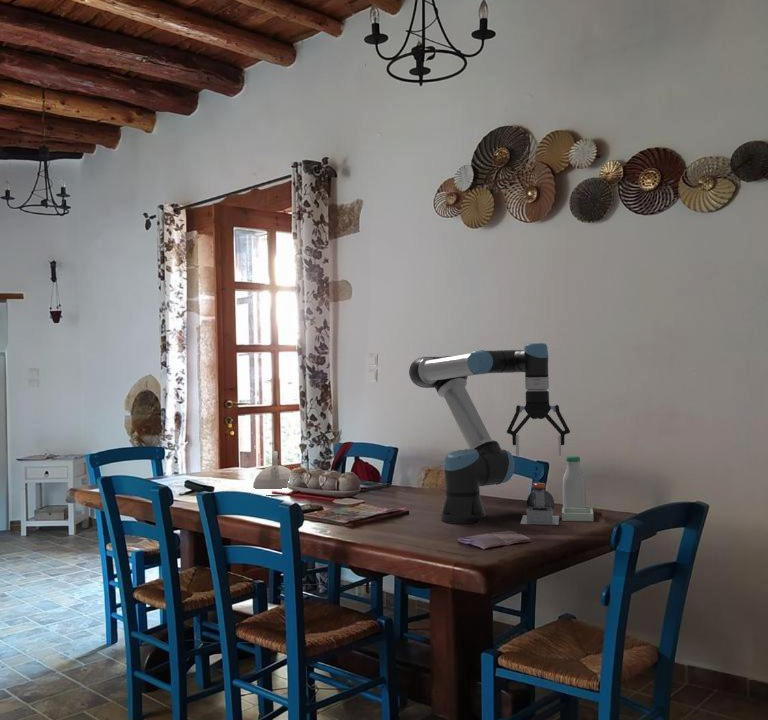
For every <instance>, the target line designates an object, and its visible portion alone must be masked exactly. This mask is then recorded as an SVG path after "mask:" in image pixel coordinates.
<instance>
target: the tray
mask: <svg viewBox="0 0 768 720" xmlns="http://www.w3.org/2000/svg"><path fill="white" fill-rule="evenodd" d="M561 521H563V522H564V521H565V522H594V509H593V507H586V508H563V507H562V508H561Z"/></svg>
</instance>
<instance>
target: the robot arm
mask: <svg viewBox="0 0 768 720" xmlns="http://www.w3.org/2000/svg"><path fill="white" fill-rule="evenodd" d="M548 349H549V348H548V344H546V343H543V342H540V343H531V342H530V343H526V344H524V348H523V349H504V350H503V349H502V350H501V349H500V350H499V349H498V350H484V349H480V350H474V351H472V352H469V353H464V354H458V355H445V356H422V357H418V358H416V359H414V360H413V361H412V363H410V366H409V370H408V371H409V372H408V373H409V374H408V375H409V378H410V380H411V382H412V383H413V384H414V385H415V386H417V387H419V388H424V389H425V388H426V389H435V390H436V392H437V394H438V396H439V397H440V398H443V399H444V400H445V402H446V404H447V406H448V408H449V410H450V411H451V414H452V416H453V418H454V420H455V422H456V424H457V426H458V428H459V431H460V433H461V434H462V437H463V438H464V440H465V443H466V444H467V446H468V448H465V449H458V450H457V449H456V450H454V451H451V452H449V453H447V454H446V455H445V457H444V466H443V468H444V480H445V481H444V488H445V498H444V502H443V505H442V508H441V512H440V520H441V521H442V522H444V523H449V524H475V523H476V524H477V523H478V522H479V520H482V519H484V518H485V517H486V511H485V509H484V506H483V503H482V500H481V495H480V494H481V492H480V487H487V486H494V485H496V486H497V485H501V484H504V483H507V482H509V481H510V480H511V478H512V477H513V475H514V472H515V466H516V465H515V464H516V463H515V459H514V456H513V455H512V453H511V452H510V450H507V449H502V448H501V446H500V444H499V442H498V441H497V440H495V439H492V437H491V435H490V433H489V431H488V429H487V427H486V425H485V424H484V422H483V419H482V417H481V415H480V414H479V412H478V410H477V407H476V406H475V404H474V402H473V400H472V398H471V397H470V394H469V393H468V390H467V388H466V386H467V384H468V383H467V380H468V377H469V376H475V375H477V376H478V375H486V374H503V373H504V374H509V373H511V374H512V373H524V377H525V379H524V382H525V383H524V384H525V385H524V386H525V390H526V391H525V406H523V405H519V404H518V405H516V406H515V407H516V408H515V413H514V416H513V417H512V420H511V421H510V424H509V426H508V428H507V430H506V434H508V435H511V438H512V439H511V440H512V442H511V443H512V445H513V446H515V454H516V457H519V456H520V446H519V445H520V443H519V442H520V440H519V438H520V437H519V435H518V433H519V431H520V430H521V429H522V428H523V426H524V425H525V424H526V423H527V422H528V421H529V419H532V420H537V419H539V420H544V419H546V420H547V421H548V422H549V423H550V425H552V427H553V428H554V429H555V430H556V431H557V432H558V433H559V434H558V436H557V437H558V438H557V439H558V456H559V457H562V446H565V437H566V435H567V434H570V433H571V430H570V428H569V426H568V425H567V422H566V421H565V419H564V417H563V415H562V413H561V411H560V406H559V405H558V404H555V405H550V392H549V389H550V388H549V386H550V384H549V383H550V381H549V350H548ZM523 411H525V413H527V415H526V416H524V418H523V420H521V422H520V423H519V424H518V425H517V426H516V428H515V429H514V430H512V429H513V428H514V426H515V423H516V422H517V420H518V417H519V415H520V413H522V412H523ZM550 411H553V413H556V415H557V417H558V420H559V421H560V423H561V425H562V427H563V429H564V430H563V429H562V428H561V426H559V424H558V423H557V422H556V421H555V420H554V419H553V418H552V417H551V415H549V413H550Z"/></svg>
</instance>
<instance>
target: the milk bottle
mask: <svg viewBox="0 0 768 720" xmlns="http://www.w3.org/2000/svg"><path fill="white" fill-rule="evenodd" d="M565 459H566V464H567V465H566V469H565V470H564V471H565V472H564V474H563V477H562V508H587V502H586V501H587V499H586V496H587V495H586V494H587V493H586V481H585V476H584V474H583V472H582V469H581V467H580V461H581V458H580V456H576V455H570V456H566V457H565Z"/></svg>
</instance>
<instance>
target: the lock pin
mask: <svg viewBox="0 0 768 720" xmlns="http://www.w3.org/2000/svg"><path fill="white" fill-rule="evenodd" d="M531 487H532V488H533V491H534V504H535V510H545V505H544V490H545V488H546V482H545V483H544V482H532V484H531Z"/></svg>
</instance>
